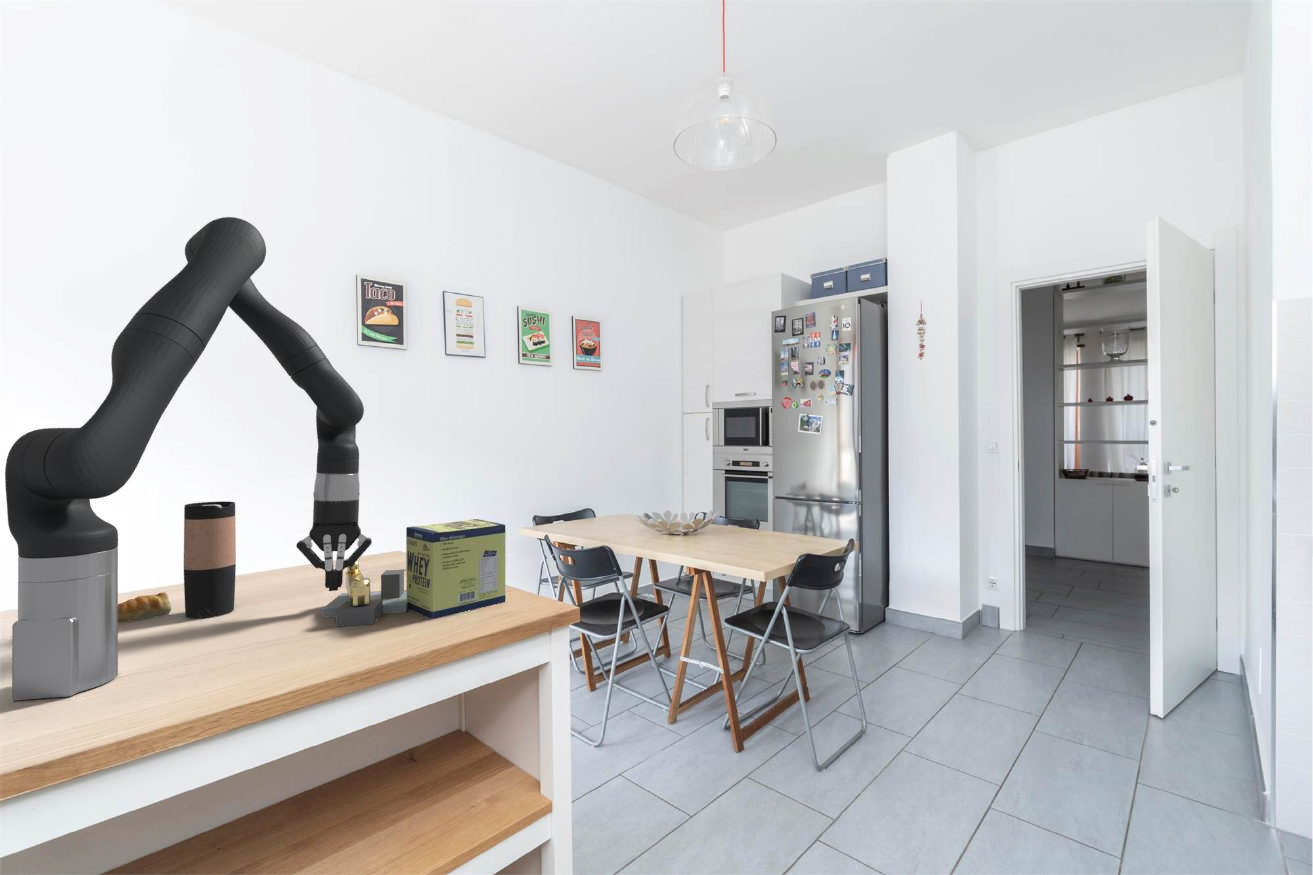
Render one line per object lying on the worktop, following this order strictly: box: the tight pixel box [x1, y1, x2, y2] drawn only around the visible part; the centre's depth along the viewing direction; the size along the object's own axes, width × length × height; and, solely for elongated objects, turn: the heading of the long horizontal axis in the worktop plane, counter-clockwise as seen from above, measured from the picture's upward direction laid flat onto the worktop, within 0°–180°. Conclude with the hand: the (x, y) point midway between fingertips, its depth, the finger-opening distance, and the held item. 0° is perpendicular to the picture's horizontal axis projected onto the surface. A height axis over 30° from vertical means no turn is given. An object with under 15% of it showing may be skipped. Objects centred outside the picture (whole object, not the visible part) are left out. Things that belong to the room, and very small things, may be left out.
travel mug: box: [183, 500, 237, 620], centre depth 108 cm, size 8×8×20 cm
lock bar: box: [344, 560, 371, 606], centre depth 109 cm, size 15×3×5 cm, turn 32°
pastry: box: [118, 591, 172, 623], centre depth 106 cm, size 9×7×4 cm
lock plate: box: [322, 569, 409, 627], centre depth 110 cm, size 17×14×6 cm
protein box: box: [405, 518, 507, 620], centre depth 114 cm, size 10×16×16 cm
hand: (333, 589), depth 111 cm, fingers closed
